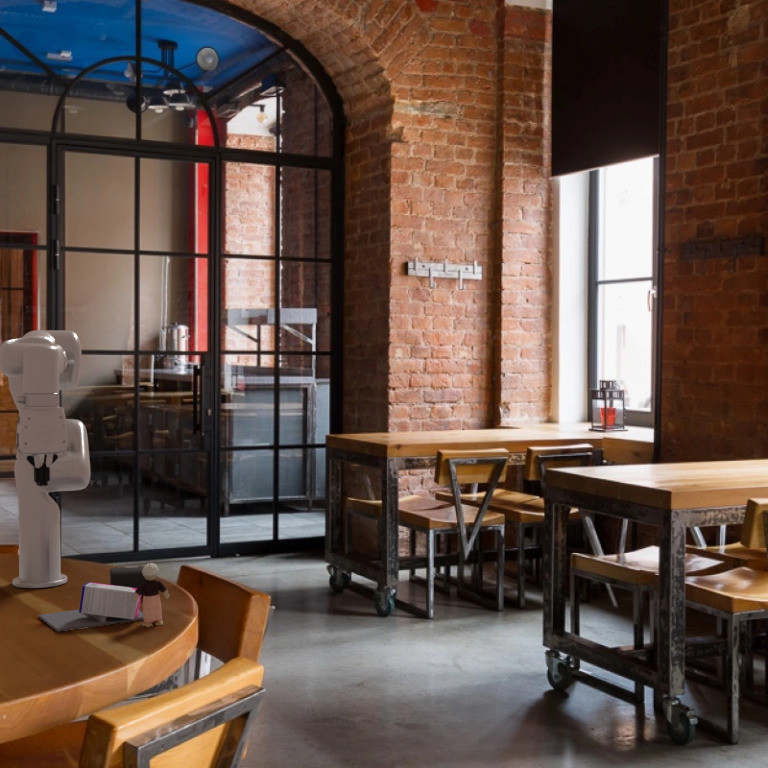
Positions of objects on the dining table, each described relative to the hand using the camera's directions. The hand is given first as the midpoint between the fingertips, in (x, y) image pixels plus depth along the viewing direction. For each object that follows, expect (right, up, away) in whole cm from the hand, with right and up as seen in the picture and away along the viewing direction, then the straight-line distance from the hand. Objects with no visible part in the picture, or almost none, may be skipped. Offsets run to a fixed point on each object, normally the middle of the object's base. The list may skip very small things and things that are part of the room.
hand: (41, 485), depth 232 cm
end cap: (+17, -27, +11) cm, 34 cm away
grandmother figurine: (+27, -27, -15) cm, 41 cm away
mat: (+14, -27, -10) cm, 32 cm away
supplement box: (+12, -22, -12) cm, 28 cm away
